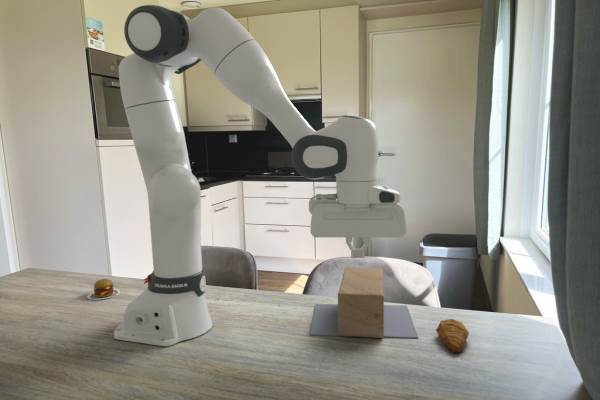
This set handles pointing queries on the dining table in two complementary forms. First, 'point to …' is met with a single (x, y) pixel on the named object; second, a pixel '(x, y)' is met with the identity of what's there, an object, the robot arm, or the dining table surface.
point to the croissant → (453, 334)
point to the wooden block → (361, 303)
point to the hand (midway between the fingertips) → (357, 257)
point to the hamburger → (103, 289)
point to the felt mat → (327, 325)
